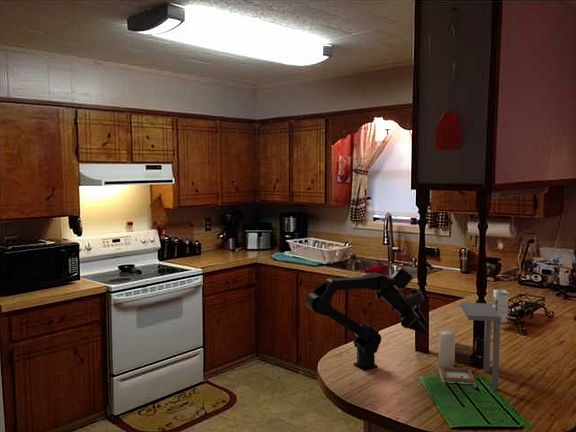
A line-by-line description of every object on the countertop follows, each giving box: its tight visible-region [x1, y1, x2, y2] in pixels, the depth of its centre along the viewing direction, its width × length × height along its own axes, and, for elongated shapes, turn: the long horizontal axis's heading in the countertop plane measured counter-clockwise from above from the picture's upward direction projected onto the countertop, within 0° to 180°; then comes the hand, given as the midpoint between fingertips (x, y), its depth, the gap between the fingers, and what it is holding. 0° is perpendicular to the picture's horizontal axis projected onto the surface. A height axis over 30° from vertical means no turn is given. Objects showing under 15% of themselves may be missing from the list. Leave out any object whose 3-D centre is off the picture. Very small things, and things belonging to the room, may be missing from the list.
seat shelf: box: [438, 302, 501, 391], centre depth 175 cm, size 18×16×24 cm
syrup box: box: [492, 289, 509, 324], centre depth 240 cm, size 6×6×14 cm
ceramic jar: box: [438, 329, 456, 367], centre depth 188 cm, size 6×6×12 cm
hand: (427, 328), depth 187 cm, fingers open, 9 cm apart
